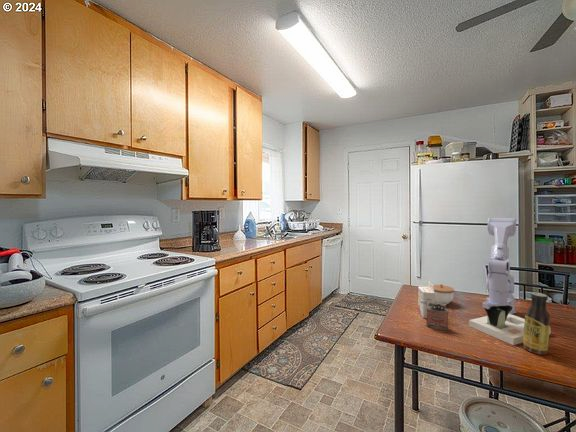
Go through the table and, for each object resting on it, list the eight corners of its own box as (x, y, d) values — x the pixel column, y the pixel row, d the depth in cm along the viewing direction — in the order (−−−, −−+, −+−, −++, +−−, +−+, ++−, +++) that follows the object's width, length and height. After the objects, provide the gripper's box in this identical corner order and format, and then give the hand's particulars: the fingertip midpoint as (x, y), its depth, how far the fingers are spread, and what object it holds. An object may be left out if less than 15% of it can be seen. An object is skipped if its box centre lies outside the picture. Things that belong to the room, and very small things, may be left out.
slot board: (504, 317, 117) (504, 311, 117) (550, 334, 102) (550, 327, 102) (469, 326, 109) (469, 319, 109) (513, 345, 94) (513, 337, 94)
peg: (494, 327, 108) (494, 307, 108) (504, 331, 104) (505, 311, 104) (487, 328, 106) (487, 309, 106) (498, 333, 103) (498, 312, 102)
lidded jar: (458, 306, 130) (458, 287, 129) (436, 306, 130) (436, 287, 129) (445, 298, 140) (446, 281, 140) (425, 299, 141) (425, 281, 140)
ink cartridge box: (417, 310, 126) (417, 279, 125) (428, 311, 125) (429, 280, 124) (422, 318, 117) (423, 285, 117) (435, 319, 116) (435, 285, 116)
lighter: (447, 326, 109) (447, 302, 109) (449, 330, 106) (449, 305, 105) (425, 324, 112) (425, 300, 111) (426, 327, 108) (427, 303, 108)
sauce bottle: (518, 346, 94) (519, 290, 93) (534, 345, 94) (536, 290, 93) (536, 357, 87) (539, 297, 86) (554, 355, 88) (556, 296, 87)
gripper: (499, 284, 110) (498, 316, 111) (475, 289, 105) (474, 322, 106) (519, 290, 104) (518, 324, 104) (494, 294, 99) (493, 330, 99)
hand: (497, 323), depth 105 cm, fingers closed on peg, 4 cm apart
